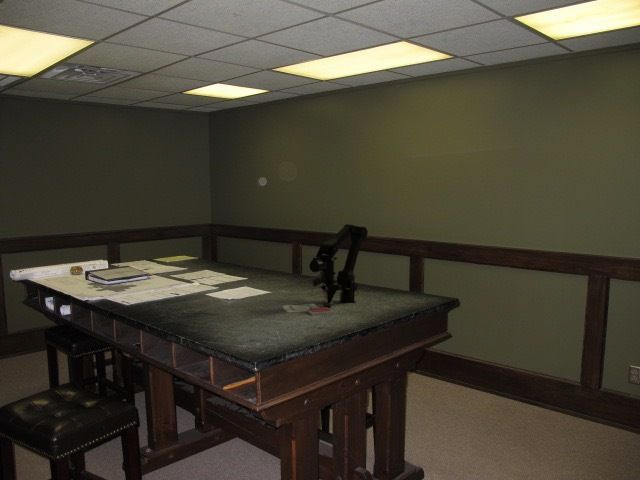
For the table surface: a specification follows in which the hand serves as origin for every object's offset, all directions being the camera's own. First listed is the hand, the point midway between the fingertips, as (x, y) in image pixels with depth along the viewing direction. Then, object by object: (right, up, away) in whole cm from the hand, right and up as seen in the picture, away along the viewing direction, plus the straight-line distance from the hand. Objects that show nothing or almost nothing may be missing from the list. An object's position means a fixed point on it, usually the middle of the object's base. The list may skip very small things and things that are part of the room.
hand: (327, 301), depth 243 cm
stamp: (0, -2, 0) cm, 2 cm away
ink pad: (-4, -4, -10) cm, 12 cm away
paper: (-13, -3, -3) cm, 13 cm away
